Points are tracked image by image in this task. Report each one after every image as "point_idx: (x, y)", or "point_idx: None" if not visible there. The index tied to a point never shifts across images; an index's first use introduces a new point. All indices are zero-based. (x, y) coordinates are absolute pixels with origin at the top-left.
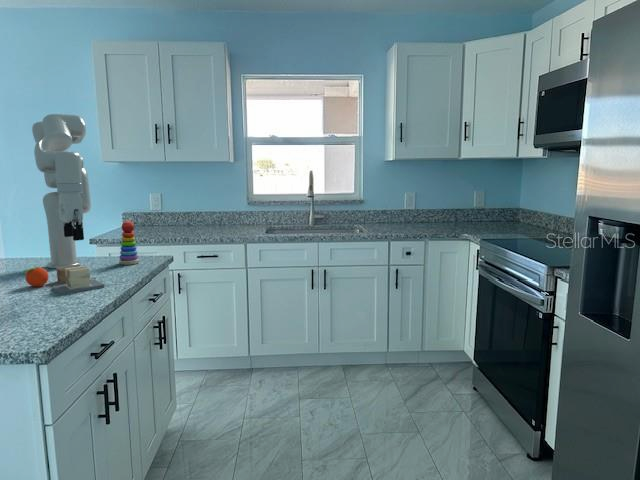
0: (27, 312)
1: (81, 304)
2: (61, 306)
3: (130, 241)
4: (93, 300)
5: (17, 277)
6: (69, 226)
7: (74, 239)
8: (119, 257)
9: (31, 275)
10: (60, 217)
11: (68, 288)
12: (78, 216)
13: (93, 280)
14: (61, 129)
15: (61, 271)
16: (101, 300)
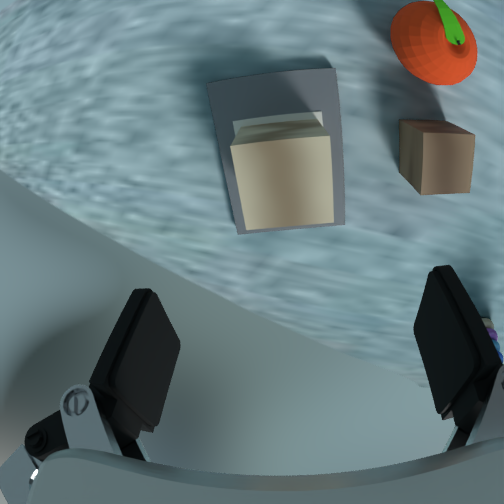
0: (62, 15)
1: (69, 144)
2: (71, 93)
3: None
4: (94, 176)
5: None
6: (452, 390)
7: (135, 298)
8: (491, 330)
9: (409, 10)
10: (498, 497)
11: (251, 116)
12: (2, 487)
13: None
14: None
15: (421, 135)
16: (87, 195)
